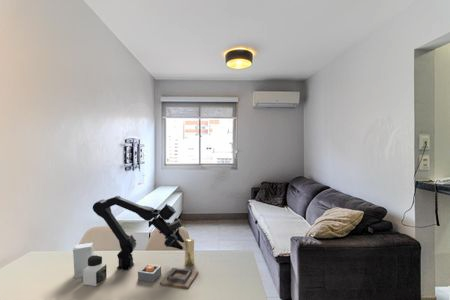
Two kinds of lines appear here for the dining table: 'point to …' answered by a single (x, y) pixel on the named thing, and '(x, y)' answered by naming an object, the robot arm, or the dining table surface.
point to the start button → (150, 268)
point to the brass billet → (189, 252)
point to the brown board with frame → (179, 278)
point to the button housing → (149, 273)
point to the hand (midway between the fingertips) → (183, 245)
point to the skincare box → (81, 258)
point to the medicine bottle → (94, 271)
